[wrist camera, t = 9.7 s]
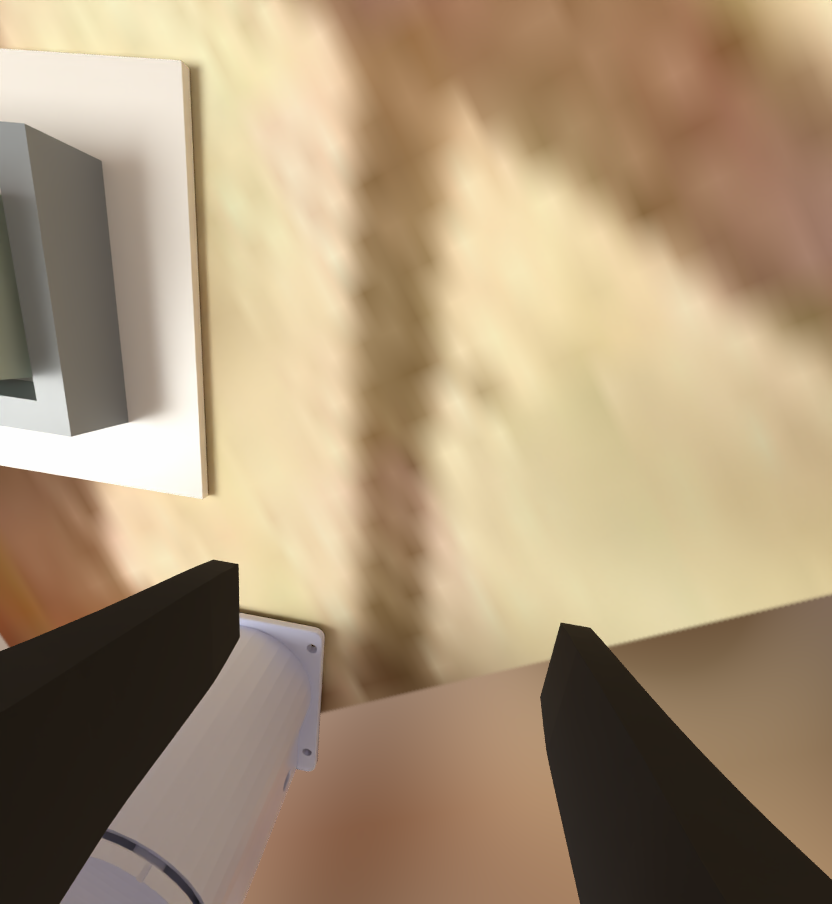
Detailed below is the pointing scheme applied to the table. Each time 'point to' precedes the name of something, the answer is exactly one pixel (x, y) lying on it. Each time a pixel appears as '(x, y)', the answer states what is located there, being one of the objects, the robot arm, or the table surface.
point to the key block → (10, 314)
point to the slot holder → (103, 270)
